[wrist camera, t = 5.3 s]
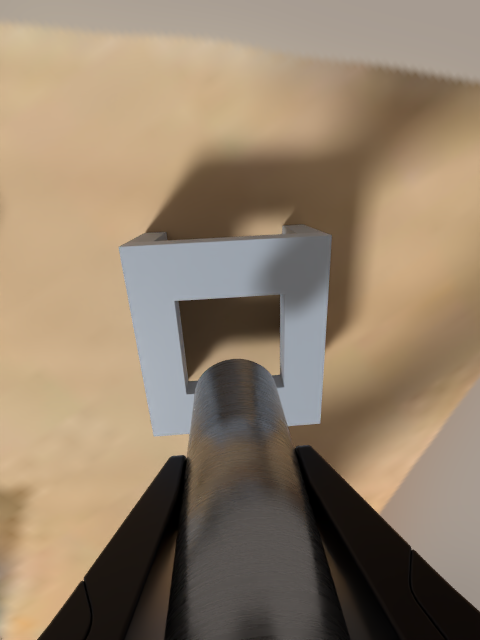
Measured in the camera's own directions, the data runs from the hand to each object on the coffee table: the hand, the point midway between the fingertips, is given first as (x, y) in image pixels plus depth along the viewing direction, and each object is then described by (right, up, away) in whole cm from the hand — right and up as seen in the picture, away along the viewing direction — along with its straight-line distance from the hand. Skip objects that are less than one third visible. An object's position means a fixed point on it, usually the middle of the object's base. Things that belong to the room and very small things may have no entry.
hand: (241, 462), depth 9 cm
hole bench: (-1, +4, +11) cm, 12 cm away
